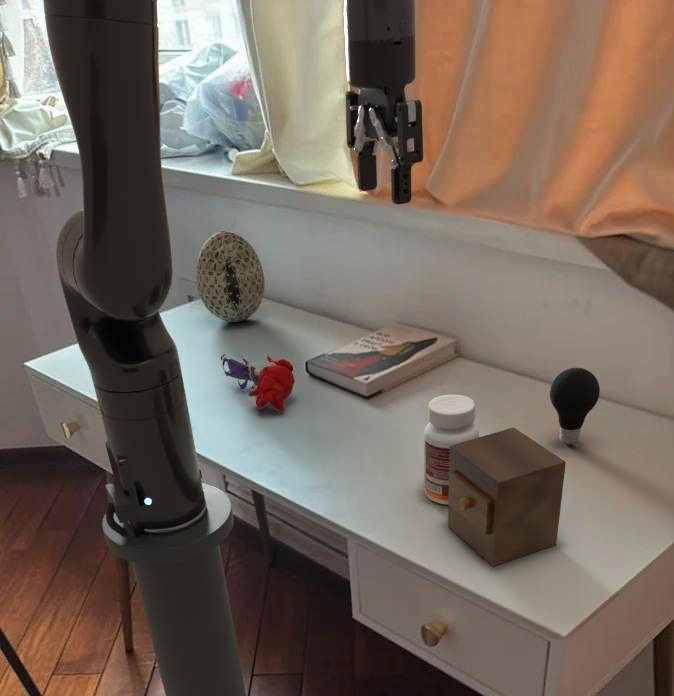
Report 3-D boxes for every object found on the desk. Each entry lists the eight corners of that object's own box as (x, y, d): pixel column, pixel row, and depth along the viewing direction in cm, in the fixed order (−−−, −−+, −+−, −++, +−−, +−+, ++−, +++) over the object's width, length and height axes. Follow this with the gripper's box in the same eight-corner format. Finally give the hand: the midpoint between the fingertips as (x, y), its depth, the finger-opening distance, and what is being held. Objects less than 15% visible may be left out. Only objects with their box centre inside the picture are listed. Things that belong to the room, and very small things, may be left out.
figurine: (245, 372, 131) (316, 396, 123) (207, 402, 127) (278, 428, 119) (233, 335, 126) (307, 357, 118) (193, 365, 123) (266, 390, 115)
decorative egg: (207, 335, 147) (192, 245, 138) (200, 314, 156) (186, 227, 147) (273, 326, 148) (263, 236, 139) (262, 305, 158) (252, 219, 148)
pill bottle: (480, 504, 98) (485, 413, 91) (427, 508, 98) (427, 418, 91) (471, 478, 103) (475, 390, 96) (421, 482, 103) (420, 394, 96)
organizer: (483, 570, 88) (487, 486, 82) (438, 529, 94) (439, 448, 88) (556, 544, 90) (566, 461, 84) (507, 506, 97) (513, 427, 91)
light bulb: (562, 429, 111) (570, 356, 105) (601, 443, 108) (612, 368, 102) (535, 445, 108) (542, 371, 102) (574, 460, 105) (584, 383, 99)
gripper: (320, 33, 95) (330, 190, 105) (380, 39, 85) (384, 213, 94) (380, 27, 97) (384, 181, 107) (444, 32, 87) (442, 202, 97)
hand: (384, 196), depth 101 cm, fingers open, 8 cm apart
